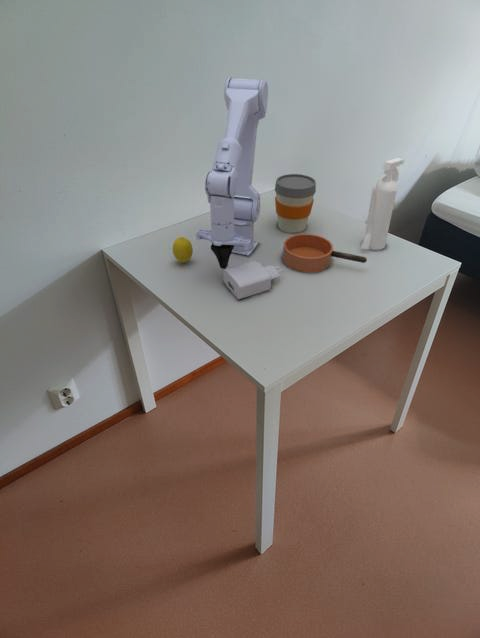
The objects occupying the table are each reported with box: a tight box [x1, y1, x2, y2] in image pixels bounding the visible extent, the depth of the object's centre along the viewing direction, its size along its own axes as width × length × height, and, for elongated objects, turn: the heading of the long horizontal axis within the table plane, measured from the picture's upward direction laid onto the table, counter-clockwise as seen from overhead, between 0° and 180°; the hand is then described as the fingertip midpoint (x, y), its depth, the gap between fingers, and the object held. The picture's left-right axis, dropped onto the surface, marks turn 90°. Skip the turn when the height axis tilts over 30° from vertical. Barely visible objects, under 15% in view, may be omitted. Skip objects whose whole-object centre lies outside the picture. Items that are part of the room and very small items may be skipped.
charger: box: [222, 260, 284, 300], centre depth 106 cm, size 5×9×15 cm
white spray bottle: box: [360, 157, 405, 251], centre depth 115 cm, size 7×12×25 cm, turn 131°
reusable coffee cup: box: [274, 173, 317, 234], centre depth 128 cm, size 13×13×15 cm
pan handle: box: [328, 250, 368, 264], centre depth 111 cm, size 11×2×2 cm, turn 67°
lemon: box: [172, 236, 194, 263], centre depth 113 cm, size 6×6×8 cm
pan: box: [282, 233, 334, 273], centre depth 115 cm, size 14×14×4 cm
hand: (224, 266), depth 108 cm, fingers closed
